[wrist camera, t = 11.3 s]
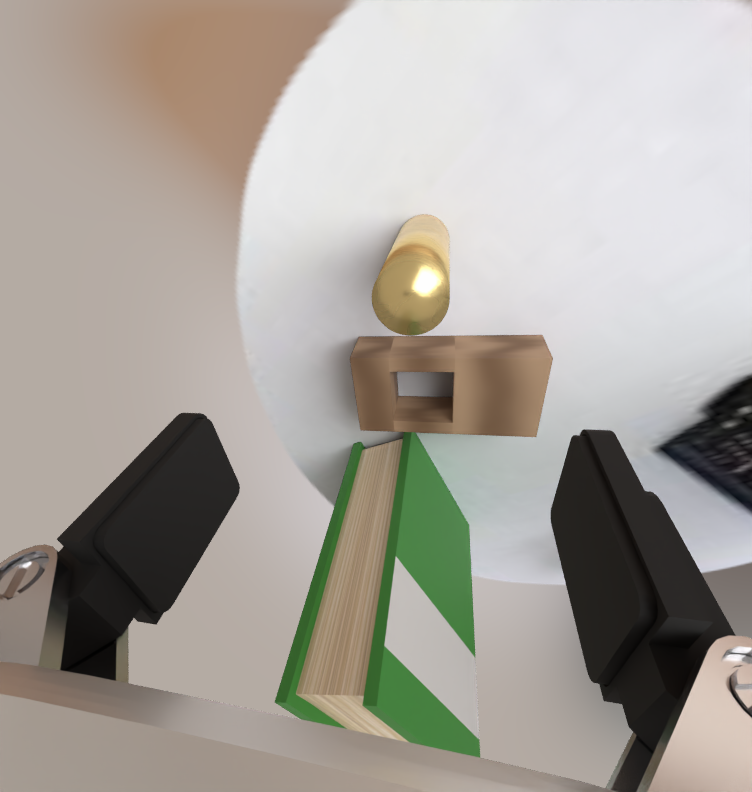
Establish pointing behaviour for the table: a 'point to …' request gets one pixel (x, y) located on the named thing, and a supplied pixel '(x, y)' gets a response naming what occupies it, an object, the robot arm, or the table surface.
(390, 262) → the peg
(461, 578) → the hardback book
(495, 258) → the table surface
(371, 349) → the eye block
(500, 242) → the table surface
